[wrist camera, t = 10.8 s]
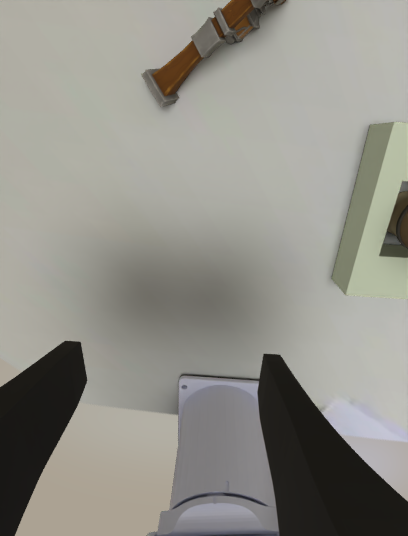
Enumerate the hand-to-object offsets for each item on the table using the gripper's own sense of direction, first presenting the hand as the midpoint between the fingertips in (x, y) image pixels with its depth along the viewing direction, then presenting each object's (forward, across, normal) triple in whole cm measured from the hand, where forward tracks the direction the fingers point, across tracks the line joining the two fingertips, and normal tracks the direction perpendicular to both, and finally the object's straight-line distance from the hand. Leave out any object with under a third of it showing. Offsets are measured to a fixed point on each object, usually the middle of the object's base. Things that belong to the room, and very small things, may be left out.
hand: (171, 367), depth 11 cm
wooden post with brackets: (+11, -1, -13) cm, 17 cm away
